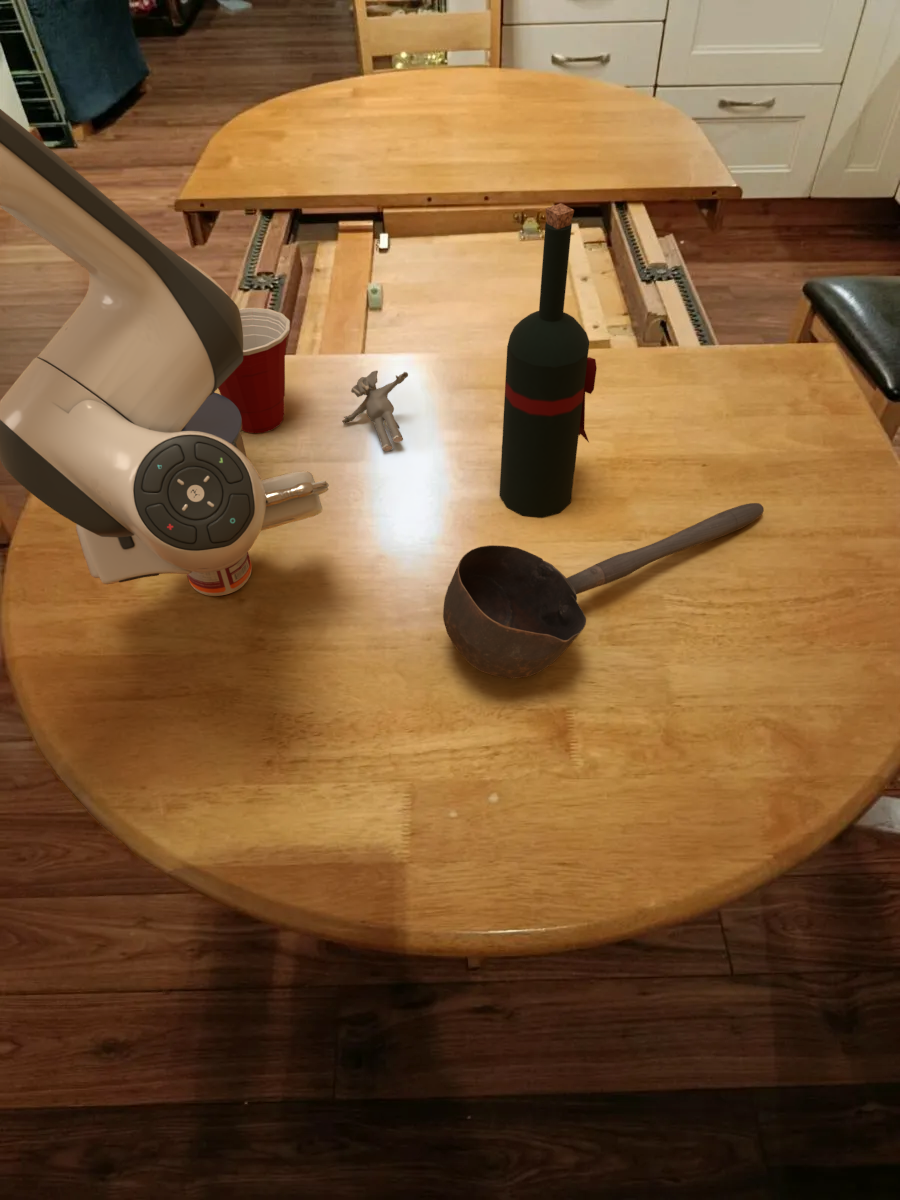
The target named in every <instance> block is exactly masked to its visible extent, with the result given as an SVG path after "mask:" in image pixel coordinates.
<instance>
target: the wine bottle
mask: <svg viewBox="0 0 900 1200" xmlns="http://www.w3.org/2000/svg"><path fill="white" fill-rule="evenodd" d="M574 213H575V209H573V208H571V207H569V206H568V205H565V204H564V203H558V204H555V205H552V206H548V207H545V219H546V221H545V224H544V236H543V237H544V238H543V249H542V251H543V252H542V265H541V277H540V278H541V279H540V293H539V306H538V310H536V311H534V312H532V313H529V314H528V315H526V316H525V317H523V318H522V319H520V321H519V322H518V323H516V325H514V326H513V329H512V331H511V332H510V335H509V337H508V342H507V345H506V362H505V363H506V364H505V379H504V380H505V381H504V382H505V383H504V401H503V402H504V403H503V419H502V421H503V422H502V437H501V438H502V439H501V456H500V457H501V459H500V475H499V477H500V478H499V495H498V496H499V497H500V500H501V501H502V502H503V504H504V505H505V507H506V508H507V509H509V510H511V511H513V512H514V513H516V514H518V515H520V516H522V517H531V518H541V519H542V518H546V517H550V516H553V515H557V514H558V515H559V514H560V513H561V512H563V511H564V510H565V509H566V508H567V507H568V506H569V505H570V504H571V503H572V495H573V488H574V479H575V472H576V471H575V470H576V460H577V453H578V444H579V436H580V435H581V436H582V437H583V438H584V439H585V440H586V441H587V442H588V443H590V441H589V438H588V436H587V432H586V430H585V422H586V421H585V417H586V394H589V395H592V393H593V392H594V390H595V385H596V384H595V383H596V377H597V367H598V366H597V360H596V358H594V357H590V356H589V349H590V339H589V337H588V333H587V332H586V330H585V329H584V327H583V326H582V324H580V323H579V322H578V320H577V319H576V318H575V317H574V316H572V315H571V314H569V313H567V312H565V311H564V310H565V299H566V289H567V278H568V267H569V260H570V259H569V258H570V246H571V237H572V226H573V223H572V221H573V216H574Z"/></svg>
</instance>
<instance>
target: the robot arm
mask: <svg viewBox="0 0 900 1200" xmlns="http://www.w3.org/2000/svg"><path fill="white" fill-rule="evenodd" d="M0 209H2V210H3V211H5V212H6V213H8V215H10V216H12V217H13V218H14V219H16V220H17V221H18V222H20V223H21V224H22V225H24V226H26V227H27V228H28V229H30V230H31V231H32V232H34V233H35V234H36V235H38V236H39V237H41V238H42V239H44V240H45V241H46V242H48V243H49V244H51V245H52V246H53V247H55V248H56V249H57V250H59V251H60V252H61V253H63V254H64V255H66V257H68V258H70V259H71V260H72V261H74V262H75V263H77V264H78V265H79V266H80V267H82V268H84V269H85V270H87V273H88V276H89V282H88V288H87V292H86V294H85V295H84V298H83V299H82V301H81V303H80V304H79V305H78V306H77V307H76V309H75V310H74V311H73V313H72V314H71V315H70V316H69V317H68V319H67V320H66V321H65V322H64V323H63V325H61V327H60V329H59V330H58V331H57V332H56V333H55V334H54V335H53V337H52V338H51V339H50V341H49V342H48V343H47V345H45V347H44V348H43V349H42V350H41V352H40V353H39V354H38V355H37V356H36V357H34V358H33V359H32V360H31V362H30V363H29V364H28V365H27V367H26V368H25V369H24V370H23V372H22V373H21V374H20V375H19V376H18V378H17V379H16V380H15V382H14V383H13V384H12V385H11V386H10V388H9V389H8V390H7V391H6V392H5V394H4V395H3V396H2V398H1V399H0V463H1V465H2V466H3V468H4V469H5V470H6V471H7V473H8V474H9V475H10V476H11V477H12V478H14V479H15V480H16V482H17V483H19V485H21V486H22V487H23V488H24V489H25V490H26V491H28V493H30V494H32V495H33V496H34V497H36V499H38V500H39V501H41V502H42V503H43V504H45V505H46V506H48V507H49V508H50V509H52V510H53V511H55V512H56V513H57V514H59V515H61V516H62V517H64V518H66V519H67V520H69V521H71V522H72V523H74V524H75V531H76V535H77V537H78V541H79V544H80V548H81V551H82V555H83V557H84V560H85V563H86V567H87V569H88V572H89V575H90V576H91V577H92V578H94V579H100V580H99V581H100V582H101V583H102V584H104V585H114V584H116V583H125V582H130V581H133V580H138V579H142V578H148V577H149V578H150V577H157V576H160V575H164V574H167V575H169V574H177V575H187V574H190V573H192V572H200V573H208V572H215V571H219V570H223V569H225V568H228V567H230V566H232V565H234V564H235V563H237V562H238V561H239V560H240V559H242V558H243V557H244V556H245V555H246V554H247V553H248V554H249V552H250V551H251V549H252V547H253V545H254V544H255V543H256V540H257V539H258V537H259V535H260V533H261V531H265V530H269V529H272V528H276V527H280V526H283V525H287V524H291V523H294V522H298V521H302V520H306V519H308V518H313V517H315V516H317V515H319V514H321V513H322V511H323V505H322V501H321V498H320V495H323V494H324V493H326V492H328V491H329V483H328V482H327V480H324V479H323V480H320V481H316V480H315V478H314V475H313V473H312V472H311V471H309V470H301V471H294V472H289V473H284V474H279V475H276V476H272V477H267V478H263V479H261V476H260V474H259V473H258V471H257V469H256V468H255V466H254V464H253V463H252V462H251V461H250V460H249V458H248V456H247V455H246V456H247V457H246V456H245V455H244V454H243V453H242V452H241V451H240V450H238V449H237V448H236V447H235V446H233V445H232V444H230V443H229V442H227V441H226V440H224V439H222V438H220V437H217V436H215V435H212V434H208V433H204V432H199V431H182V429H183V428H184V427H185V425H186V424H187V423H188V422H189V420H190V419H191V418H192V416H193V415H194V414H195V413H196V411H197V410H198V409H199V407H200V406H201V405H202V404H203V402H204V401H205V400H206V399H207V397H208V396H210V395H212V394H213V393H214V392H215V393H216V391H217V390H219V389H218V388H219V387H220V385H221V384H222V383H223V382H224V381H225V380H226V379H227V378H228V377H229V376H230V375H231V374H232V373H233V372H234V371H235V369H236V368H237V367H238V366H239V365H240V364H241V363H242V361H243V330H242V322H241V316H240V312H239V309H240V308H239V306H238V305H237V304H236V303H235V301H234V300H233V299H232V298H231V297H230V295H229V294H228V292H227V291H226V290H225V289H224V288H223V287H222V286H221V285H220V284H219V282H218V281H216V280H215V279H214V277H213V278H212V276H211V275H210V274H208V273H207V272H205V271H204V270H203V269H201V268H200V267H198V266H197V265H196V264H194V263H193V262H191V261H190V260H188V259H186V258H185V257H183V256H181V255H179V254H177V253H176V252H175V251H173V250H172V249H171V248H170V247H168V246H167V245H166V244H164V243H163V242H162V241H160V239H158V238H156V237H155V236H154V235H153V234H152V233H150V232H149V230H147V229H146V228H144V226H142V225H141V224H140V223H139V222H138V221H137V220H135V219H134V218H132V217H131V216H130V215H129V214H128V213H127V212H126V211H124V210H123V209H122V208H121V207H120V206H119V205H117V204H116V203H115V201H113V200H111V199H110V198H109V197H108V196H106V194H105V193H103V192H102V191H101V190H99V189H98V188H97V187H96V186H95V185H93V184H92V183H91V182H90V181H89V180H87V179H86V178H85V177H84V176H83V175H82V174H81V173H80V172H78V171H77V170H76V169H75V168H74V167H72V166H71V165H70V164H69V163H67V161H65V160H64V159H63V158H62V157H60V156H59V155H58V154H57V153H56V152H55V151H53V150H52V149H51V148H50V147H48V146H47V145H46V144H44V143H43V142H42V141H41V140H40V139H38V137H36V136H35V135H33V133H31V132H30V131H29V130H28V129H26V128H25V127H24V126H23V125H21V124H20V123H19V122H18V121H16V120H15V119H14V118H13V117H12V116H10V115H9V114H8V113H6V112H5V111H4V110H2V108H0Z"/></svg>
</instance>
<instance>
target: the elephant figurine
mask: <svg viewBox="0 0 900 1200" xmlns="http://www.w3.org/2000/svg"><path fill="white" fill-rule="evenodd" d="M378 372H379V371H378V370H373V371H371V372H370V373H369V374H368V375H367V376H361V377H360V378H358V379H357V383H356V384H355V385H354V386H352V388H351V390H350V392H351V393H353V394H354V395H355V396H356V398H360V397H362V396H365V398H364V400H363V401H362V402H361V403H360V405H359V406H358V407H357V408H356V409H355V410H354V411H353V412H352V413H351V414H349V415H345V416H343V418H344V419H343V420H341V423H343V424H348V423H350V422H353V421H354V420H355V419H356V418H357V417H358V416H359V415H361V414H364V413H365V412H366V415H367V417H368V418H369V419H370V421H371V422H372V423H374V428H375V431H376V433H377V435H378V438H379V441H380V444H381V448H382V450H383V451H384V452H390V451H392V450H393V449H394V446H393V444H392V442H391V440H390V437H389V435H388V432H387V430H386V427H387V428H388V431H389V433H390V436H391V438H392V441H393V442H394V443H401V442H403V440H404V437H403V435H402V432H401V431H400V425H399V423H398V422H397V420H396V419H395V417H394V414H393V413H394V411H395V407H394V405H393V404H392V402H391V400H389V398H388V396H389V394H390V393H391V392H392V390H394V388H395V387H396V386H397V385H400V384H402V383H403V382H404V381H405V380H406V379H407V378H408V377H409V373H408V372H407V371H403V372H402V373H401V374H399V375H395V380H394V381H393V382H390V383H387V384H385V385H383V386H381V387H378V388H377V383H378ZM384 421H385V423H384ZM385 424H386V426H385Z"/></svg>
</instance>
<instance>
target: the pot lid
mask: <svg viewBox="0 0 900 1200" xmlns="http://www.w3.org/2000/svg"><path fill="white" fill-rule="evenodd" d="M182 431H199V432H204V433H208V434H212V435H215V436H217V437H220V438H222V439H224V440H226V441H227V442H229V443H230V444H232V445H234V444H235V442H236V441H237V439H238V438H239V436H240V433H241V434H242V431H243V430H242V417H241V414H240V411H239V409H238V408H237V406H236V405H235V404H234V403H233V402H232V401H231V400H229V399H228V398H226V397H224V396H222V395H221V394H220V393H218V392H216V391H215V392H214V393H213V394H212V395H210V396H208V397H207V399H206V400H205V401H204V402H203V404H202V405H201V406H200V407H199V409H198V410H197V411H196V413H195V414H194V415H193V416H192V418H191V419H190V420H189V422H188V423H187V424H186V425H185V427H184V428H183V429H182Z"/></svg>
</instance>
